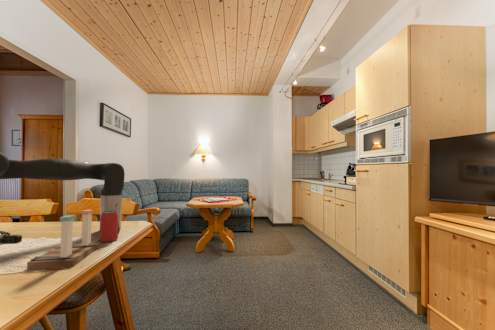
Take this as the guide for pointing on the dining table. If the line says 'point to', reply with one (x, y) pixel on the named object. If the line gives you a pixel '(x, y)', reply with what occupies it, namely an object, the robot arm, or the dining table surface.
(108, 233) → the beer can
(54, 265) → the wooden slider base
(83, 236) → the white tall bar
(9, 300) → the dining table surface
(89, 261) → the dining table surface
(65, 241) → the teal slider
